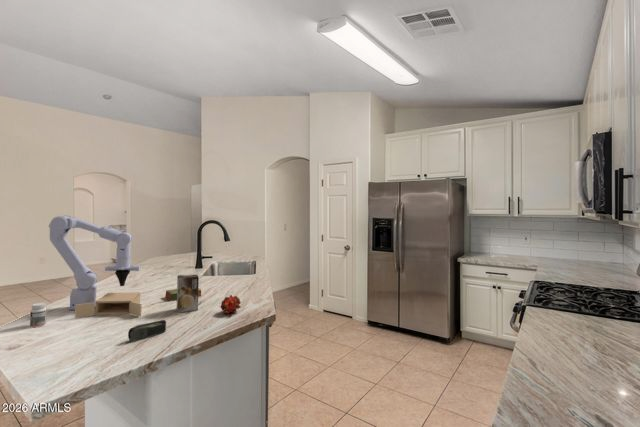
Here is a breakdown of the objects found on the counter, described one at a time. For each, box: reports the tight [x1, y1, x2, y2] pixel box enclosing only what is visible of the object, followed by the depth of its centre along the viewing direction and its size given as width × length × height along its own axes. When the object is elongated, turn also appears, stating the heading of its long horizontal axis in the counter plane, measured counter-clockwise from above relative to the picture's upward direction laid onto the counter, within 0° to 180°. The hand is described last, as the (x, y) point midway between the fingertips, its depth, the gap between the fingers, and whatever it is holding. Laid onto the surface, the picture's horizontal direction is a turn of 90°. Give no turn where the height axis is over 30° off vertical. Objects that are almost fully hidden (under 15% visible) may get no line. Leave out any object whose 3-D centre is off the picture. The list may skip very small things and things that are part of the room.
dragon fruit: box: [220, 294, 242, 315], centre depth 152 cm, size 8×8×12 cm
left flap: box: [74, 302, 95, 319], centre depth 138 cm, size 7×1×5 cm, turn 128°
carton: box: [164, 287, 202, 302], centre depth 174 cm, size 8×16×4 cm, turn 132°
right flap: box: [129, 302, 142, 317], centre depth 142 cm, size 7×1×5 cm, turn 64°
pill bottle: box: [29, 302, 47, 328], centre depth 127 cm, size 5×5×8 cm
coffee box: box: [176, 273, 200, 313], centre depth 154 cm, size 9×6×16 cm
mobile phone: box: [125, 319, 167, 344], centre depth 121 cm, size 5×3×15 cm
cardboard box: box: [94, 291, 141, 316], centre depth 149 cm, size 14×14×6 cm
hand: (122, 285), depth 156 cm, fingers closed
